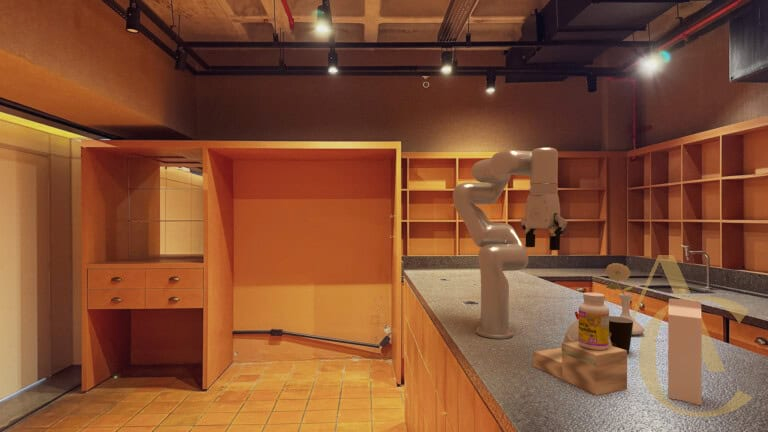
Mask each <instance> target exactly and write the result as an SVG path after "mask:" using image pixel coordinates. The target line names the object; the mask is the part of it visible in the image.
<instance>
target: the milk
mask: <svg viewBox="0 0 768 432" xmlns="http://www.w3.org/2000/svg"><path fill="white" fill-rule="evenodd" d="M667 316H668V317H667V319H668V320H667V322H668V323H667V326H668V327H667V329H668V330H667V334H668V336H667V340H668V343H667V347H668V348H667V351H668V352H667V354H668V355H667V361H668V362H667V364H668V365H667V367H668V369H667V386H668V387H667V393H668V394H667V397H669V398H668V399H670V398H674V399H673V400H675V399H678V400H677V401H680V400H683V401H682V402H684V401H686V402H685V403H690V404H694V405H698V406H702V404H703V402H702V401H703V400H702V399H703V398H702V397H703V396H702V393H703V392H702V388H703V387H702V382H703V381H702V377H703V376H702V375H703V374H702V370H703V368H702V364H703V363H702V362H703V361H702V360H703V358H702V354H703V351H702V350H703V349H702V343H703V342H702V339H703V338H702V336H703V334H702V331H703V330H702V327H703V325H702V323H703V321H702V302H701V301H698V300H690V299H689V300H688V299H679V298H669V299H668V314H667Z"/></svg>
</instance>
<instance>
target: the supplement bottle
mask: <svg viewBox="0 0 768 432" xmlns="http://www.w3.org/2000/svg"><path fill="white" fill-rule="evenodd" d="M582 296H583V300H584V302H582V303H580V304H579V306H578V314H579V326H578V343H579V345H581V346H582V347H585V348H588V349H593V350H605V349H607V348H608V346H609V316H610V308H609V307H608V306H607V305H606V304H604V302H605V300H606V298H605V297H606V295H605V294H603V293H598V292H583V294H582Z"/></svg>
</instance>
